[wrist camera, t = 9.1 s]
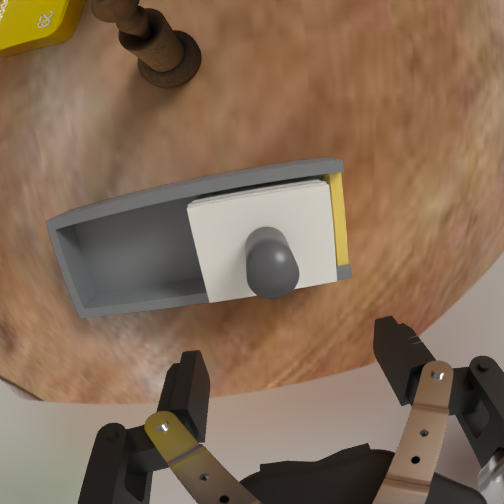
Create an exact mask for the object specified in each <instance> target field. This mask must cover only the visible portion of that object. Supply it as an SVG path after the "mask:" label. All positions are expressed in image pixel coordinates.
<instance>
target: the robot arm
mask: <svg viewBox="0 0 504 504" xmlns="http://www.w3.org/2000/svg"><path fill="white" fill-rule="evenodd" d="M373 349H374V354H375V357H376V359H377V361H378V363H379V364H380V366H381V368H382V370H383V372H384V374H385V375H386V377H387V379H388V381H389V383H390V385H391V387H392V389H393V390H394V392H395V394H396V396H397V398H398V400H399V402H400V404H401V406H404V405H406V404H409V403H410V405H411V407H412V408H411V411H410V414H409V418H408V421H407V423H406V426H405V429H404V432H403V435H402V438H401V440H400V443H399V445H398V448H397V451H396V453H394V452H391V451H387V450H380V449H373V450H372V449H371V450H370V447H369V445H368V443H366V444H363V445H359V446H356V447H352V448H348V449H344V450H341V451H339V452H337V453H335V454H333V455H330V456H328V457H326V458H324V459H321V460H319V461H316V462H303V461H282V462H276V463H268V464H260V471H259V472H256V473H254V474H252V475H249V476H248V477H246V478H244V479H243V480H241V481H240V482H238V481H237V480H236V479H235V478H234V477H233V476H232V475H231V474H230V473H229V472H228V471H227V470H226V469H225V468H224V467H223V466H222V465H221V464H220V463H219V462H218V461H217V460H216V458H215V457H214V456H213V455H212V454H211V453H210V452H209V451H208V450H207V449H206V448H205V447H204V446H203V445H202V444H201V445H200V444H199V443H200V442H205V434H206V423H207V413H208V402H209V392H210V379H209V374H208V372H207V369H206V366H205V363H204V360H203V357H202V354H201V352H200V351H199V350H196V351H186V352H183V353H182V357H181V361H180V363H174V364H173V365H172V366H171V367H170V369H169V370H168V371H167V374H166V378H165V382H164V386H163V387H164V388H163V389H162V393H161V397H160V401H159V404H158V408H157V412H156V413H154V414H152V415H151V416H150V417H148V419H147V420H146V422H145V424H144V425H142V426H139V427H135V428H130V429H125V428H124V426H123V425H121V424H119V423H109V424H107V425H105V426H103V427H102V428H101V429H100V430H99V431H98V433H97V436H96V439H95V442H94V446H93V449H92V453H91V456H90V459H89V463H88V466H87V470H86V474H85V477H84V481H83V485H82V488H81V492H80V496H79V500H78V504H149V501H150V500H149V499H150V492H151V483H152V475H153V471H156V470H160V469H165V468H168V467H170V469H171V470H172V471H173V473H174V474H175V475H176V477H177V478H178V480H179V481H180V482H181V483H182V485H183V486H184V487H185V489H186V490H187V491H188V492H189V494H190V495H191V496H192V497H193V499H194V500H195V501H196V502H197V503H198V504H504V372H503V371H502V370H501V368H500V367H499V366H498V364H497V363H496V362H495V361H494V360H493V359H492V358H490V357H487V356H478V357H475V358H474V359H473V360H472V361H471V362H470V365H469V367H462V368H452V367H451V366H450V365H449V364H447V363H446V362H443V361H436V359H435V358H434V357H433V355H432V354H431V353H430V351H429V350H428V349H427V348H426V346H425V345H424V344H423V342H421V340H420V338H419V337H418V336H417V334H416V333H415V332H414V331H413V329H412V328H410V327H409V326H407V325H405V324H403V323H402V324H398V323H397V322H396V320H395V319H394V318H393V317H392V316H387V317H383V318H379V319H376V320H375V326H374V341H373ZM449 415H456V417H457V419H458V421H459V423H460V425H461V427H462V429H463V431H464V433H465V434H466V437H467V438H468V440H469V443H470V445H471V446H472V449H473V451H474V453H475V455H476V457H477V459H478V461H479V463H480V465H481V468H482V470H481V471H480V474H479V476H478V483H479V492H478V491H477V490H475V489H473V488H471V487H468V486H466V485H463V484H461V483H458V482H456V481H454V480H452V479H449V478H447V477H445V476H443V475H440V474H438V473H436V472H434V470H435V467H436V464H437V460H438V457H439V453H440V449H441V446H442V442H443V438H444V434H445V430H446V425H447V421H448V416H449Z"/></svg>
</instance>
